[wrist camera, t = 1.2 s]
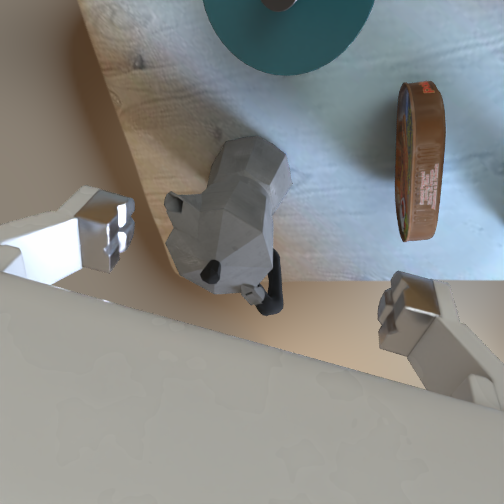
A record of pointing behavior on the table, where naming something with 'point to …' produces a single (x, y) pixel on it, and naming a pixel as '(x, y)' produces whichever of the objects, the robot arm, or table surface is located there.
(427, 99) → the tin
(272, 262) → the coffeepot
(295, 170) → the table surface
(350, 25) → the can lid
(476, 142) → the table surface
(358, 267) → the table surface
